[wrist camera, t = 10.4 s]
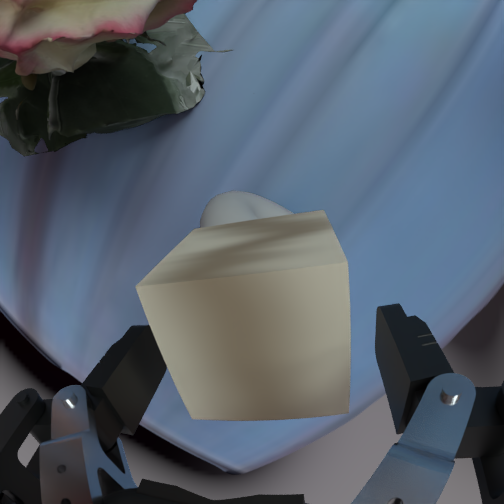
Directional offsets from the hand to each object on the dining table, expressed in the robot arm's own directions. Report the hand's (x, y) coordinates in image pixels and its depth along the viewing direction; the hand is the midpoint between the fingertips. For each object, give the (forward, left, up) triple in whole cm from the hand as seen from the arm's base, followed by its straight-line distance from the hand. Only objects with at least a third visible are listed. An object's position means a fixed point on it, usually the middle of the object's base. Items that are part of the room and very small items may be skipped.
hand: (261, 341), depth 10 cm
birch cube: (0, 0, -5) cm, 5 cm away
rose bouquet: (+13, -23, -15) cm, 31 cm away
